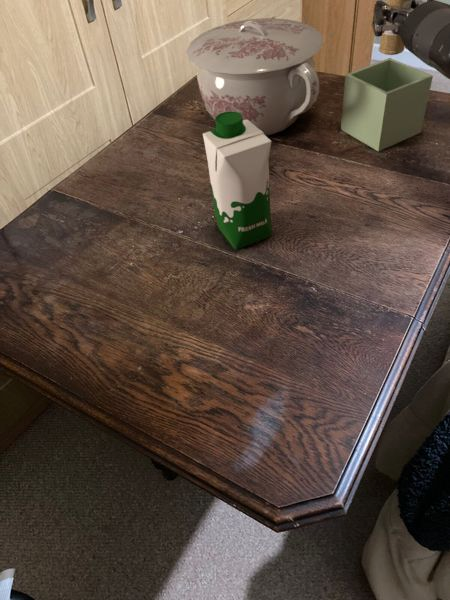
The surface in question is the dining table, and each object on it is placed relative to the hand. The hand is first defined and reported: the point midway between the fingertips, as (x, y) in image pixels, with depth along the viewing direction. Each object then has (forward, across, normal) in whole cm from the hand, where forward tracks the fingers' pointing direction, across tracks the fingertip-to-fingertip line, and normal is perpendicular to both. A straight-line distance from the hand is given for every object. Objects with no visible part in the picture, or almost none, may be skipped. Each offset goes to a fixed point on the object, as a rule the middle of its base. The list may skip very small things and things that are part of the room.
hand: (390, 4), depth 87 cm
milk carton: (-26, +34, +24) cm, 49 cm away
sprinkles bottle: (-3, 0, +7) cm, 8 cm away
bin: (-2, 0, +23) cm, 23 cm away
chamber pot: (+11, +23, +23) cm, 34 cm away
